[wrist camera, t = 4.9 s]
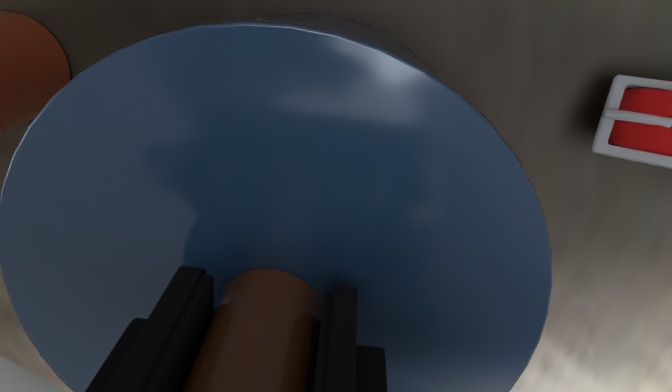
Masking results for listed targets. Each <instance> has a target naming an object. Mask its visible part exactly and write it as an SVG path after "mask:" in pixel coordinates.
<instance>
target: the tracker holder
mask: <svg viewBox="0 0 672 392" xmlns="http://www.w3.org/2000/svg"><path fill="white" fill-rule="evenodd" d="M627 88H633V89H627ZM591 149H592V151H593V153H598V154H603V155H607V156H612V157H617V158H622V159H627V160H631V161H636V162H641V163H646V164H650V165H655V166H660V167H665V168H669V169H672V81H664V80H656V79H649V78H641V77H633V76H626V75H617V76H615V77H614V78H613V81H612V84H611V87H610V90H609V93H608V96H607V99H606V102H605V105H604V109H603V112H602V115H601V118H600V121H599V124H598V127H597V130H596V133H595V136H594V139H593V142H592V145H591Z"/></svg>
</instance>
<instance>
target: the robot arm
mask: <svg viewBox="0 0 672 392" xmlns="http://www.w3.org/2000/svg"><path fill="white" fill-rule="evenodd" d="M213 313H214V279H213V276H212V275H206V270H205V269H204V268H198V267H189V266H180V267H179V268H178V270H177V271H176V273H175V275H174V276H173V278H172V279H171V281H170V283H169V284H168V286H167V288H166V289H165V291H164V293H163V294H162V296H161V298H160V299H159V301H158V303H157V304H156V306H155V307H154V309H153V311H152V312H151V314H150V316H149V317H148V319H144V318H135V319H133V320H132V321H131V322H130V324H129V325H128V326H127V328H126V329H125V331H124V332H123V334H122V336H121V337H120V339H119V340H118V342H117V343H116V345H115V346H114V348H113V349H112V351H111V352H110V354H109V355H108V357H107V359H106V360H105V362H104V363H103V365H102V366H101V368H100V369H99V371H98V372H97V374H96V375H95V377H94V379H93V380H92V382H91V383H90V385H89V386H88V388H87V389H86V391H85V392H180V390H181V387H182V385H183V383H184V380H185V378H186V376H187V373H188V371H189V369H190V366H191V364H192V362H193V359H194V357H195V355H196V352H197V350H198V348H199V345H200V343H201V341H202V338H203V336H204V334H205V331H206V329H207V327H208V324H209V322H210V320H211V317H212V315H213ZM356 337H357V287H353V286H345V285H337V284H335V285H334V290H327V289H325V293H324V301H323V308H322V316H321V324H320V333H319V341H318V350H317V359H316V367H315V376H314V384H313V392H387V377H386V360H385V350H384V348H383V347H374V346H366V345H358V344H356Z"/></svg>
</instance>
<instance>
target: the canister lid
mask: <svg viewBox="0 0 672 392" xmlns="http://www.w3.org/2000/svg"><path fill="white" fill-rule="evenodd" d="M0 264H1V270H2V276H3V279H4V282H5V285H6V288H7V291H8V294H9V297H10V300H11V303H12V306H13V308H14V310H15V312H16V314H17V316H18V318H19V320H20V322H21V324H22V326H23V329H24V331H25V332H26V334H27V335H28V337H29V338H30V340H31V341H32V343H33V345H34V346H35V348H36V349H37V351H38V352H39V354H40V355H41V357H42V358H43V359H44V360H45V361H46V363H47V364H48V365H49V366H50V367H51V369H52V370H53V371H54V372H55V373H56V375H57V376H58V377H59V378H60V379H61V380H62V381H63V382H64V383H65V384H66V385H67V386H68V387H69V388H70V389H71V390H72V391H73V392H85V391H86V389H87V388H88V386H89V385H90V383H91V382H92V380H93V379H94V377H95V375H96V374H97V372H98V371H99V369H100V368H101V366H102V365H103V363H104V362H105V360H106V359H107V357H108V355H109V354H110V352H111V351H112V349H113V348H114V346H115V345H116V343H117V342H118V340H119V339H120V337H121V336H122V334H123V332H124V331H125V329H126V328H127V326H128V325H129V324H130V322H131V321H132V320H133V319H135V318H144V319H148V317H149V316H150V314H151V312H152V311H153V309H154V307H155V306H156V304H157V303H158V301H159V299H160V298H161V296H162V294H163V293H164V291H165V289H166V288H167V286H168V284H169V283H170V281H171V279H172V278H173V276H174V275H175V273H176V271H177V270H178V268H179V267H180V266H189V267H198V268H204V269H205V270H206V275H212V276H213V279H214V313H213V315H212V317H211V320H210V322H209V324H208V327H207V329H206V331H205V334H204V336H203V338H202V341H201V343H200V345H199V348H198V350H197V352H196V355H195V357H194V359H193V362H192V364H191V366H190V369H189V371H188V373H187V376H186V378H185V380H184V383H183V385H182V387H181V390H180V392H313V384H314V376H315V367H316V359H317V350H318V341H319V333H320V324H321V316H322V308H323V301H324V293H325V289H327V290H334V285H335V284H337V285H345V286H353V287H357V337H356V344H358V345H366V346H374V347H383V348H384V350H385V360H386V377H387V392H509V391H510V390H511V389H512V387H513V386H514V384H515V383H516V381H517V380H518V379H519V377H520V376H521V374H522V373H523V371H524V370H525V368H526V367H527V365H528V363H529V361H530V359H531V357H532V355H533V353H534V351H535V349H536V347H537V345H538V343H539V341H540V337H541V334H542V331H543V328H544V325H545V322H546V318H547V315H548V310H549V303H550V296H551V289H552V251H551V246H550V241H549V235H548V230H547V225H546V220H545V217H544V214H543V211H542V209H541V206H540V203H539V200H538V198H537V195H536V192H535V190H534V187H533V185H532V183H531V181H530V180H529V178H528V176H527V174H526V173H525V171H524V169H523V167H522V165H521V164H520V162H519V160H518V158H517V157H516V155H515V153H514V152H513V151H512V150H511V148H510V147H509V146H508V144H507V143H506V142H505V141H504V139H503V138H502V137H501V136H500V134H499V133H498V132H497V131H496V129H495V128H494V127H493V126H492V124H491V123H490V122H489V121H488V119H487V118H486V117H485V116H484V115H483V114H482V113H481V112H480V111H479V110H478V109H477V108H476V107H474V106H473V105H472V104H471V103H470V102H469V101H468V100H467V99H466V98H465V97H464V96H463V95H462V94H461V93H460V92H458V91H457V90H456V89H455V88H454V87H452V86H451V85H449V84H448V83H447V82H445V81H444V80H442V79H441V78H439V77H438V76H437V75H435V74H434V73H432V72H431V71H429V70H428V69H426V68H425V67H424V66H422V65H421V64H419V63H417V62H415V61H413V60H411V59H409V58H407V57H405V56H403V55H401V54H399V53H397V52H395V51H393V50H391V49H389V48H387V47H385V46H383V45H381V44H378V43H376V42H373V41H370V40H367V39H364V38H361V37H358V36H355V35H352V34H349V33H346V32H343V31H341V30H337V29H332V28H327V27H322V26H317V25H311V24H306V23H301V22H296V21H284V20H266V19H238V20H226V21H215V22H204V23H200V24H196V25H192V26H187V27H183V28H179V29H175V30H170V31H166V32H162V33H159V34H156V35H153V36H151V37H148V38H146V39H143V40H141V41H139V42H136V43H134V44H131V45H129V46H126V47H124V48H121V49H119V50H116V51H114V52H113V53H111V54H109V55H108V56H106V57H104V58H103V59H101V60H99V61H98V62H96V63H94V64H93V65H91V66H89V67H88V68H86V69H84V70H83V71H81V72H80V73H79V74H78V75H76V76H75V77H74V78H73V79H72V80H71V81H69V82H68V83H67V84H66V85H65V86H64V87H62V88H61V89H60V90H59V91H58V92H57V93H55V94H54V95H53V96H52V97H51V98H50V100H49V101H48V102H47V103H46V104H45V106H44V107H43V108H42V109H41V111H40V112H39V113H38V114H37V115H36V117H35V118H34V119H33V120H32V122H31V123H30V124H29V126H28V128H27V129H26V131H25V133H24V135H23V137H22V138H21V140H20V142H19V144H18V146H17V147H16V149H15V151H14V153H13V155H12V158H11V161H10V163H9V166H8V169H7V172H6V175H5V178H4V181H3V184H2V188H1V195H0Z"/></svg>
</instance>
